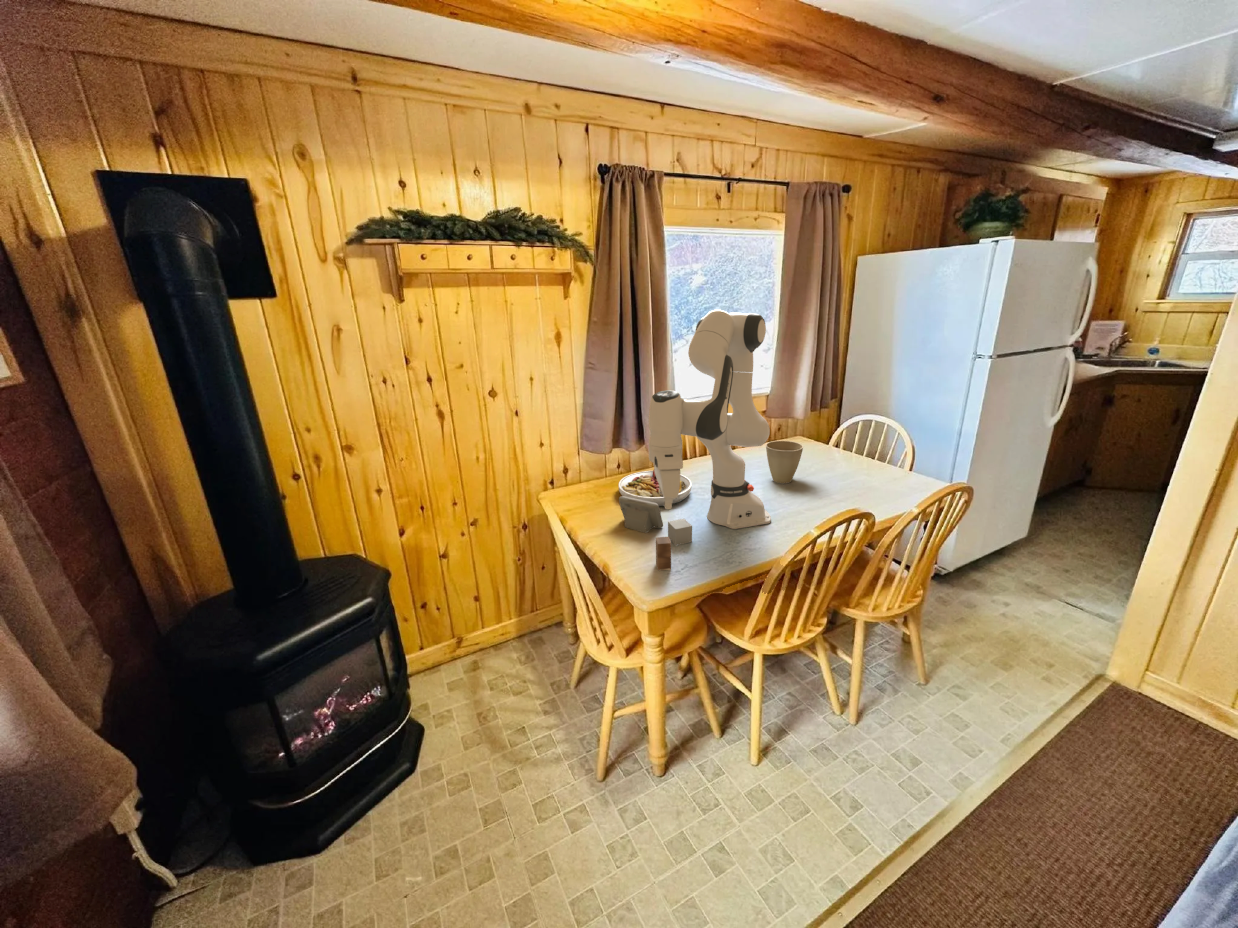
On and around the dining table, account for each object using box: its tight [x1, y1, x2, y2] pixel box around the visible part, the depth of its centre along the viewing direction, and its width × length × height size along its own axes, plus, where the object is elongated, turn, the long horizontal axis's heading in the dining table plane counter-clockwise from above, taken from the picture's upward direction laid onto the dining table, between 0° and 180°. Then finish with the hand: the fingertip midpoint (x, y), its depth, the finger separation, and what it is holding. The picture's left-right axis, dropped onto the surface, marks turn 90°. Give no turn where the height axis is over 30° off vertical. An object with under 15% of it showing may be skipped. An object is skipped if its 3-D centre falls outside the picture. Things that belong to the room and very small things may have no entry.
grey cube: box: [667, 518, 693, 546], centre depth 159 cm, size 6×6×6 cm
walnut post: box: [655, 536, 672, 571], centre depth 143 cm, size 4×4×9 cm
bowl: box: [618, 469, 692, 507], centre depth 197 cm, size 30×30×8 cm
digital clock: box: [618, 495, 664, 534], centre depth 169 cm, size 16×9×11 cm, turn 46°
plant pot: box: [765, 440, 804, 484], centre depth 203 cm, size 15×15×16 cm
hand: (665, 501), depth 131 cm, fingers open, 8 cm apart
